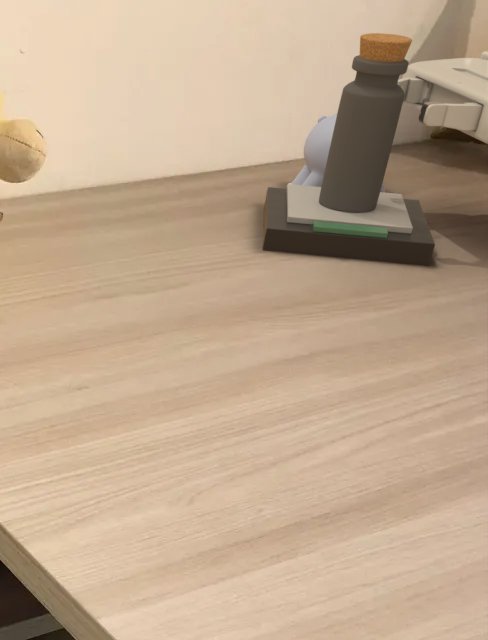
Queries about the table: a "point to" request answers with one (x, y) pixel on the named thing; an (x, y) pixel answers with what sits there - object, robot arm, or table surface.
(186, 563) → the table surface
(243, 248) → the table surface
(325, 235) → the scale
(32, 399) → the table surface
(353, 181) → the bottle
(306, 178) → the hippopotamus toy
